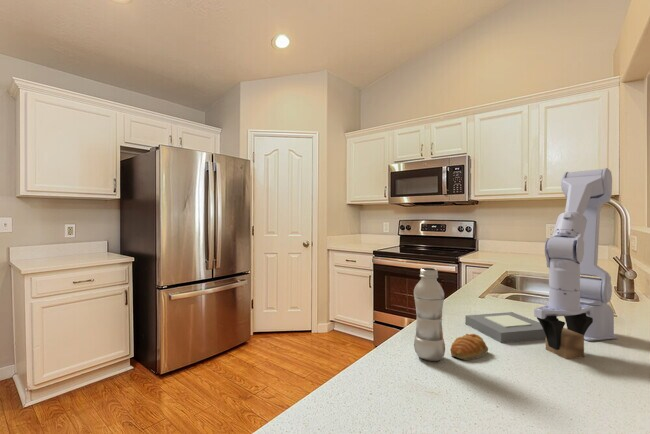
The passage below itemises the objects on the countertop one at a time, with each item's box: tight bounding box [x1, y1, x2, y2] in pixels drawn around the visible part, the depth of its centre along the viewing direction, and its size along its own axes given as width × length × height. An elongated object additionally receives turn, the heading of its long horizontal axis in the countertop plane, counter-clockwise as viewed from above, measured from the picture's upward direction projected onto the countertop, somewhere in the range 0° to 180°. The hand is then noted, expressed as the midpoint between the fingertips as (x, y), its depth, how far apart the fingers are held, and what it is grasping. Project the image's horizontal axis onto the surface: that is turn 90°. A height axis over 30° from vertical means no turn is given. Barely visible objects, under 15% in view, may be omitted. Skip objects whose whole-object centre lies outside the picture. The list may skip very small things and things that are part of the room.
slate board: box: [464, 311, 546, 344], centre depth 86 cm, size 16×14×3 cm
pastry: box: [450, 333, 489, 361], centre depth 72 cm, size 9×7×4 cm
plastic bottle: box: [413, 267, 446, 362], centre depth 70 cm, size 6×7×20 cm
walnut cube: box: [545, 327, 585, 360], centre depth 72 cm, size 5×5×5 cm
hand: (564, 346), depth 72 cm, fingers open, 5 cm apart
